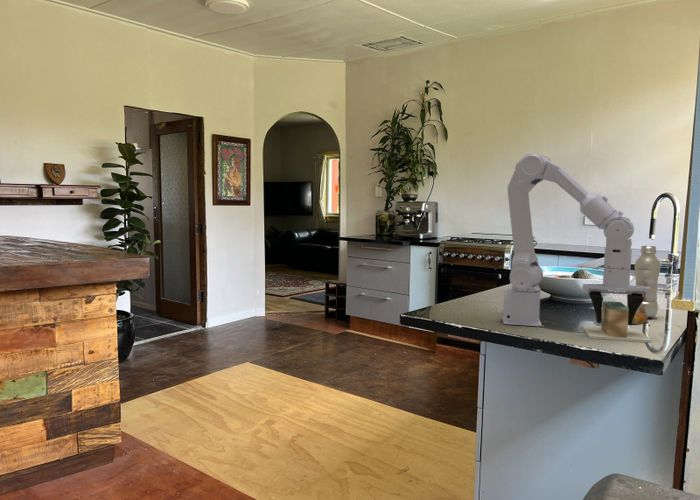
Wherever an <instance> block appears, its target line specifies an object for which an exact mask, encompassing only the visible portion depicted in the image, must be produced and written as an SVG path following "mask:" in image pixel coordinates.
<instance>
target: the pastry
mask: <svg viewBox="0 0 700 500" xmlns="http://www.w3.org/2000/svg"><path fill="white" fill-rule="evenodd" d="M647 322H648V318H647V315H645V314H643V313H641V312H637V311H636V313H635V316H634V318H633V321H632V325H633V324H635V325H642V324H646V323H647Z"/></svg>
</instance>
